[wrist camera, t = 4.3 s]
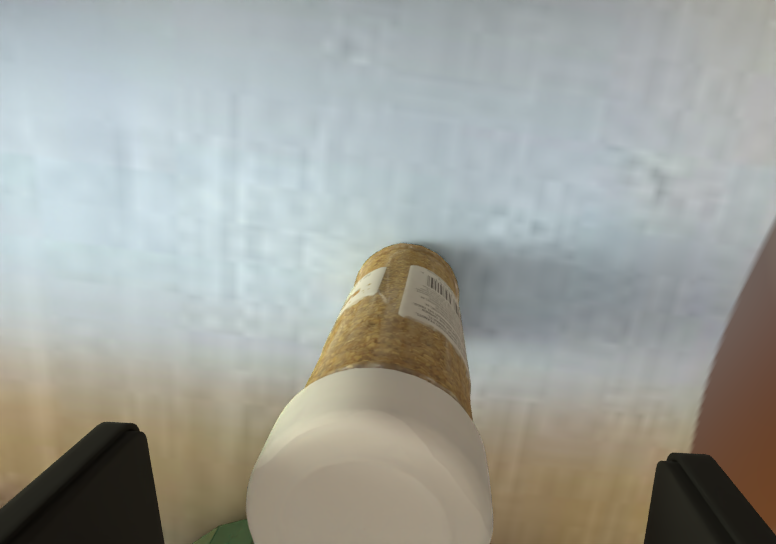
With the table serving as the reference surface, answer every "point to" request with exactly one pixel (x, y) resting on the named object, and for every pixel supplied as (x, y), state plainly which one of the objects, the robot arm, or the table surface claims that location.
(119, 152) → the table surface
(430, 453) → the sprinkles bottle
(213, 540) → the green round dish
